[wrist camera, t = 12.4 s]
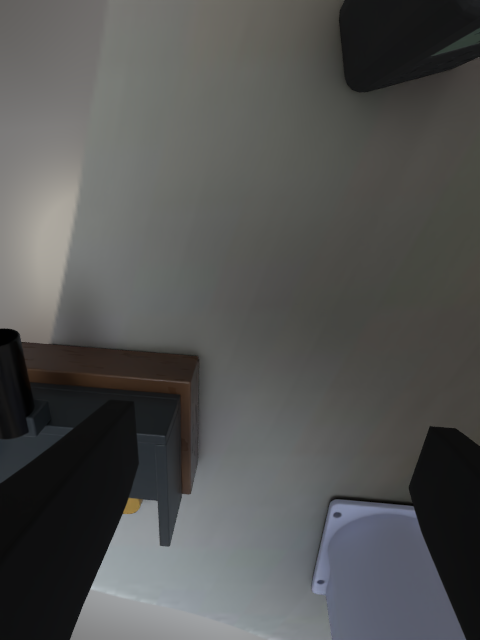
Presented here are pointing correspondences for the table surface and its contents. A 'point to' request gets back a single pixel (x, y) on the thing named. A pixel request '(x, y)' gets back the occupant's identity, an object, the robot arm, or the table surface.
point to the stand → (126, 382)
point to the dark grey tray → (75, 406)
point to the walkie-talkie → (406, 39)
